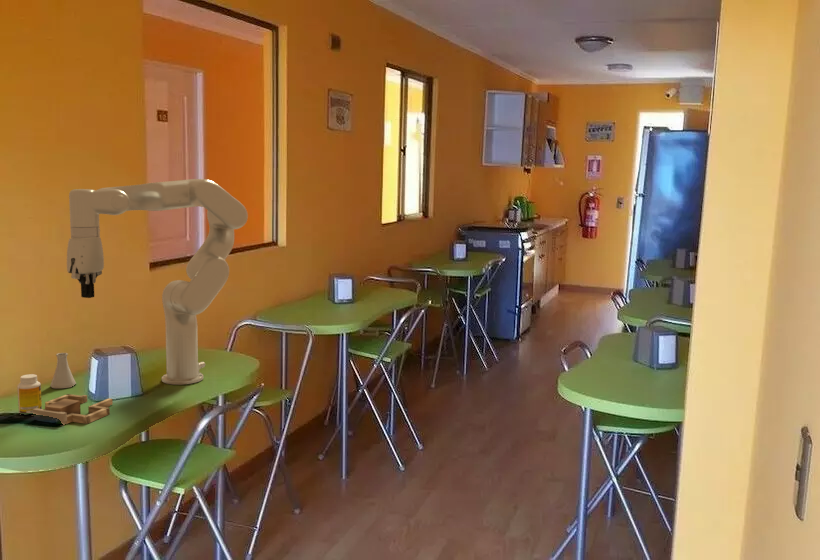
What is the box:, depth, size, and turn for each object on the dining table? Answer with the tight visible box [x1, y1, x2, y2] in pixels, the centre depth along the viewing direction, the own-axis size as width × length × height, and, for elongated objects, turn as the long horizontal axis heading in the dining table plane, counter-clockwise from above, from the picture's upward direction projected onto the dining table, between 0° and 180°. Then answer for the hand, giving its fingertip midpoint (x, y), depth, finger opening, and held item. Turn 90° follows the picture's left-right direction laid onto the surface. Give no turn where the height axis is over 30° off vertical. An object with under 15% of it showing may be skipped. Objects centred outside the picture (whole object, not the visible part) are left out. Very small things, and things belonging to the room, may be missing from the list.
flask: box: [49, 352, 77, 389], centre depth 223 cm, size 7×7×10 cm
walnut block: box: [44, 399, 82, 415], centre depth 195 cm, size 7×5×4 cm
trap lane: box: [33, 393, 114, 426], centre depth 199 cm, size 18×19×3 cm
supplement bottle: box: [16, 373, 43, 414], centre depth 198 cm, size 6×6×10 cm
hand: (87, 297), depth 211 cm, fingers closed
